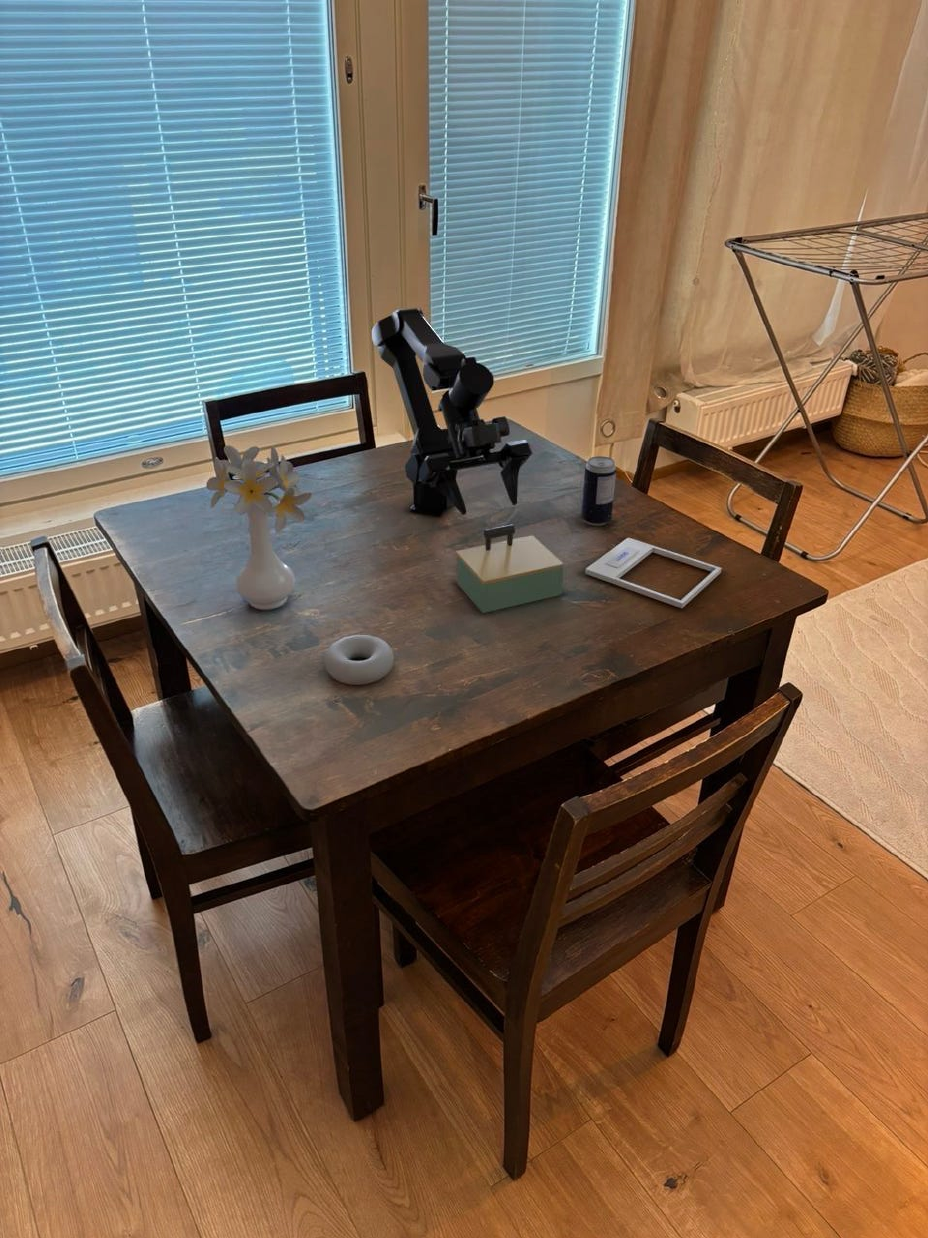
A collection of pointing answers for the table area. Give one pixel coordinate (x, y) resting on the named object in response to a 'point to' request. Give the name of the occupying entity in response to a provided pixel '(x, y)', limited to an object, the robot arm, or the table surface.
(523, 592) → the lunchbox
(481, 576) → the lunchbox lid
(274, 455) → the flower vase
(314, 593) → the table surface
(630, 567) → the photo frame
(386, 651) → the donut
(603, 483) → the beverage can
